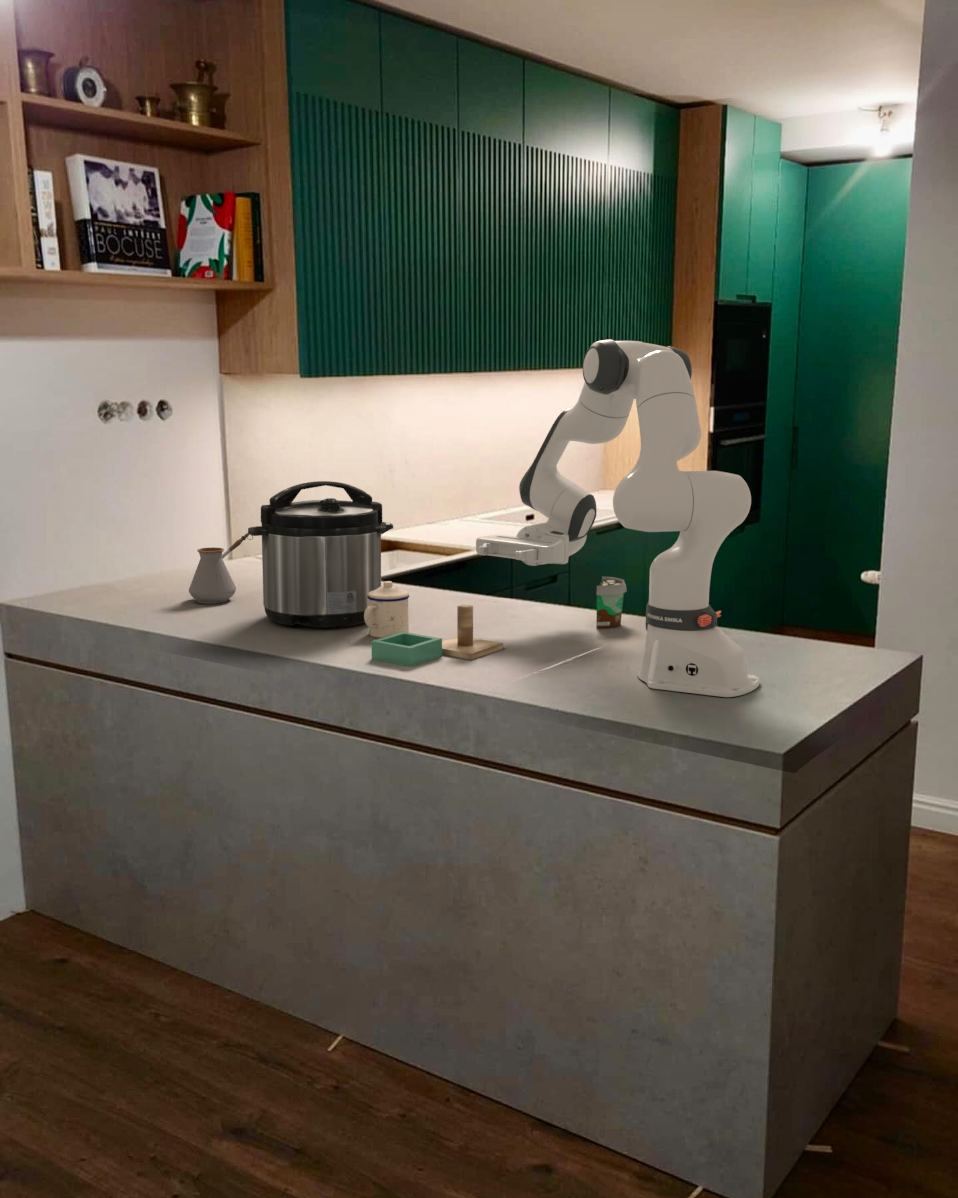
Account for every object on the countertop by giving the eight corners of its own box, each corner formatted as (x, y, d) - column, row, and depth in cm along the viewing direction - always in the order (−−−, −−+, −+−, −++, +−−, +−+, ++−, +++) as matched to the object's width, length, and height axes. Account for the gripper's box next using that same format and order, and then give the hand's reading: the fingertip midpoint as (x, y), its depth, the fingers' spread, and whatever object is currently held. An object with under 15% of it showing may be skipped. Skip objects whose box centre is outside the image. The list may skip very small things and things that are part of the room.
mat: (505, 650, 245) (505, 648, 245) (471, 662, 235) (471, 660, 235) (459, 642, 252) (459, 640, 252) (424, 653, 242) (424, 651, 242)
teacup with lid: (386, 627, 265) (386, 576, 263) (418, 633, 260) (417, 580, 258) (350, 637, 256) (348, 584, 253) (381, 643, 251) (380, 589, 248)
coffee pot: (216, 607, 286) (213, 545, 283) (179, 602, 291) (176, 542, 288) (270, 591, 305) (268, 533, 302) (234, 587, 310) (232, 530, 307)
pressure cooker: (403, 608, 285) (401, 476, 279) (369, 635, 258) (366, 489, 252) (285, 602, 291) (280, 473, 285) (239, 628, 264) (233, 486, 258)
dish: (442, 657, 239) (441, 638, 238) (410, 668, 231) (410, 648, 230) (403, 650, 245) (403, 631, 244) (371, 660, 237) (371, 641, 236)
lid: (502, 648, 245) (502, 605, 243) (471, 659, 236) (470, 614, 234) (459, 641, 251) (459, 598, 249) (427, 651, 242) (427, 607, 240)
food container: (623, 631, 261) (624, 587, 259) (595, 630, 263) (596, 586, 261) (628, 619, 273) (629, 576, 271) (601, 618, 274) (602, 575, 272)
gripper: (496, 526, 266) (459, 534, 255) (574, 535, 254) (539, 543, 243) (496, 554, 267) (459, 563, 256) (574, 564, 255) (539, 573, 244)
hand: (499, 553), depth 249 cm, fingers open, 8 cm apart
